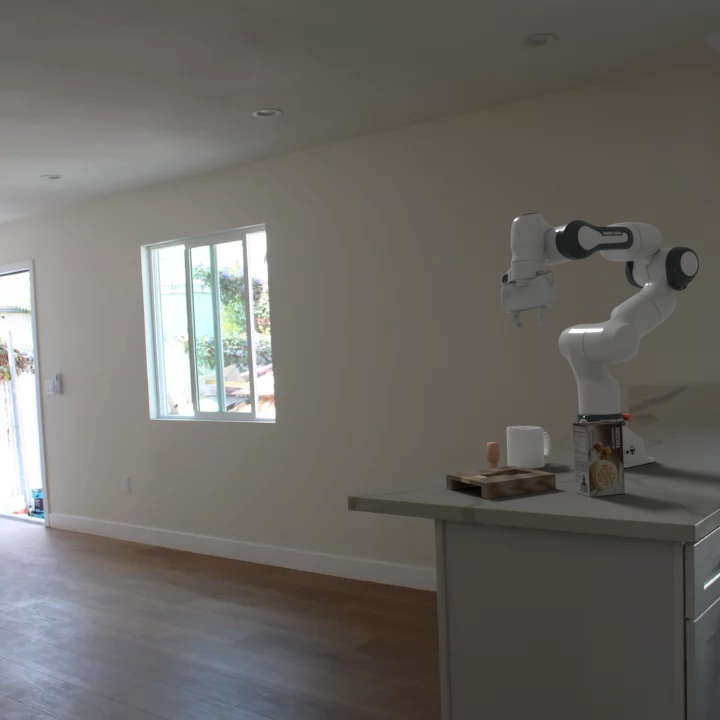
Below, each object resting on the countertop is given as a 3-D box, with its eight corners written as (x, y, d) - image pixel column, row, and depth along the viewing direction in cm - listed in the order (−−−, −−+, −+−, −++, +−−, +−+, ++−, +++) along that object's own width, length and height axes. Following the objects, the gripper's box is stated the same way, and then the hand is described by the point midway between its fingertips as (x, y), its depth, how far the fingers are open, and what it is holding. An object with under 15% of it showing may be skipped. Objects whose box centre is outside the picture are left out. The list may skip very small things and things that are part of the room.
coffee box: (609, 489, 186) (607, 420, 185) (625, 494, 179) (623, 422, 179) (574, 492, 183) (572, 422, 183) (589, 497, 177) (587, 425, 177)
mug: (534, 460, 233) (533, 423, 232) (561, 464, 224) (559, 426, 224) (499, 465, 225) (498, 427, 225) (526, 469, 217) (525, 430, 216)
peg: (495, 475, 209) (494, 441, 209) (507, 478, 205) (506, 442, 205) (480, 477, 207) (479, 442, 207) (492, 480, 203) (491, 444, 202)
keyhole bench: (512, 479, 202) (512, 465, 202) (555, 488, 188) (555, 473, 188) (446, 488, 193) (446, 473, 193) (487, 498, 179) (486, 483, 179)
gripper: (562, 268, 202) (563, 323, 201) (515, 280, 221) (516, 330, 220) (542, 266, 200) (543, 321, 199) (496, 279, 218) (497, 329, 217)
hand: (528, 326), depth 209 cm, fingers open, 8 cm apart
